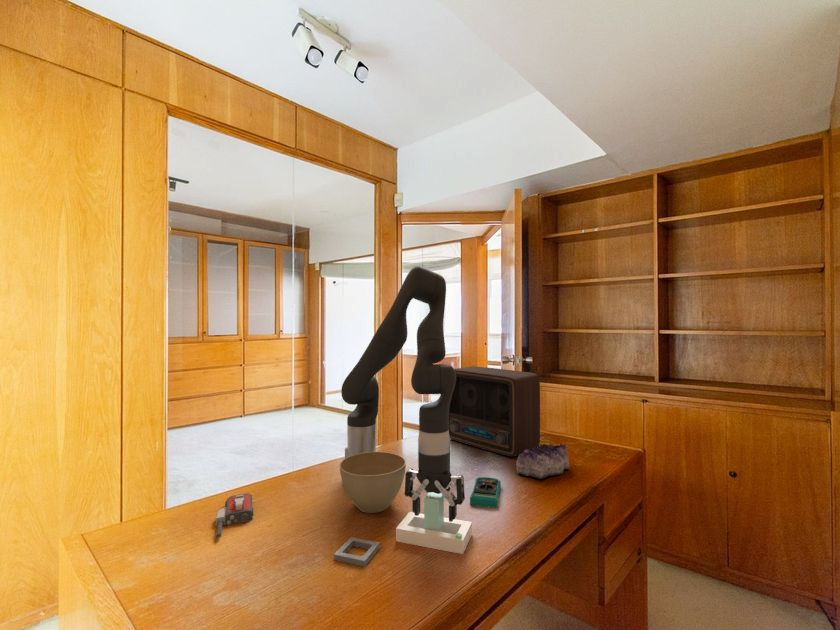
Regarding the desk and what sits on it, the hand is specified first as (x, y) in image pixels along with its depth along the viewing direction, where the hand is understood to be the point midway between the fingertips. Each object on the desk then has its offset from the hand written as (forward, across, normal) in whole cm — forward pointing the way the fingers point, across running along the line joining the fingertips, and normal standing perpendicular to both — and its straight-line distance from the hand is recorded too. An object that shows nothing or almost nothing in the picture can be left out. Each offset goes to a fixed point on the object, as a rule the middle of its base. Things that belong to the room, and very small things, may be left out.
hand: (434, 517), depth 100 cm
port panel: (+5, 0, 0) cm, 5 cm away
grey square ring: (+5, -14, -12) cm, 19 cm away
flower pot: (+5, -21, +10) cm, 24 cm away
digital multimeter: (+6, +7, +27) cm, 29 cm away
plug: (+5, 0, 0) cm, 5 cm away
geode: (+5, +22, +52) cm, 57 cm away
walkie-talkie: (+5, -52, -8) cm, 53 cm away
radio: (+5, -1, +74) cm, 74 cm away
